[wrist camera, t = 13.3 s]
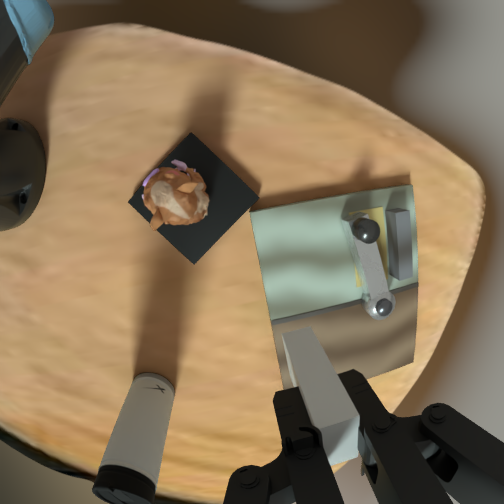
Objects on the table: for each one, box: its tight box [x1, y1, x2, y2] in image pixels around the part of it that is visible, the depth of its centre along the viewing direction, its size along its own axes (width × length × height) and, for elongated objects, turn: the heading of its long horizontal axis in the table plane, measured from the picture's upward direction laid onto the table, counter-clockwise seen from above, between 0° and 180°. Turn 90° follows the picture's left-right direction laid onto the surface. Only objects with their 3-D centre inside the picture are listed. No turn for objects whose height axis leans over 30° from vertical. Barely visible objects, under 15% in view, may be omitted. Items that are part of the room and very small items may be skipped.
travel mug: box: [92, 373, 175, 504], centre depth 28 cm, size 6×7×20 cm
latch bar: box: [340, 211, 396, 320], centre depth 31 cm, size 13×4×4 cm, turn 23°
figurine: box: [128, 132, 259, 264], centre depth 26 cm, size 10×10×12 cm
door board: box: [249, 184, 418, 390], centre depth 34 cm, size 26×20×4 cm
